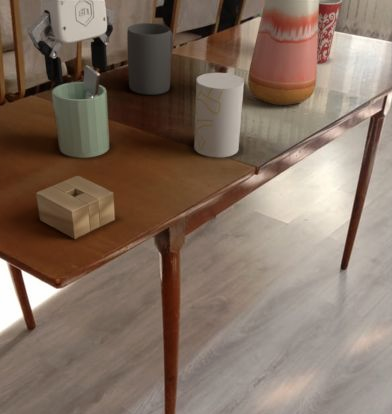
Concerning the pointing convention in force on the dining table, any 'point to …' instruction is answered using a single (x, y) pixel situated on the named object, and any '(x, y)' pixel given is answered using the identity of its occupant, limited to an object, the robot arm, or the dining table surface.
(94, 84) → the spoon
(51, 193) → the spoon stand
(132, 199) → the dining table surface
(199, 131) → the white cylinder
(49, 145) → the dining table surface
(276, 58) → the vase
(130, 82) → the mug
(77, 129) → the mint green mug
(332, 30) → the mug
